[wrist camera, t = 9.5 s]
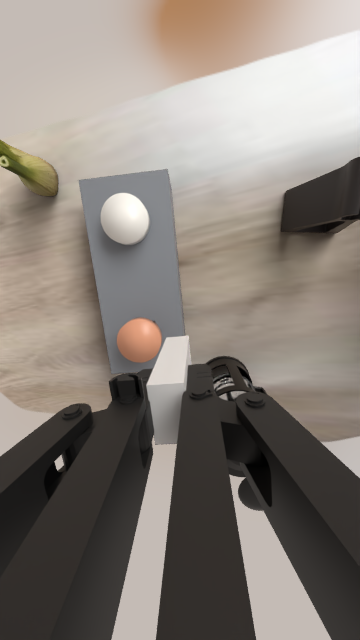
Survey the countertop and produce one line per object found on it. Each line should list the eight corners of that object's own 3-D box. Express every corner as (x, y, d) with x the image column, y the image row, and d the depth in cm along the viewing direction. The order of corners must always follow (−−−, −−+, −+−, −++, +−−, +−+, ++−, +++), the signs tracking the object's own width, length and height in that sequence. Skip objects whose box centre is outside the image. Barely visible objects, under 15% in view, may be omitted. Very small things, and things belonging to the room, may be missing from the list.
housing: (171, 188, 37) (167, 169, 30) (186, 352, 42) (186, 368, 35) (98, 196, 37) (78, 180, 30) (123, 357, 43) (111, 373, 36)
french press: (192, 397, 44) (196, 527, 22) (199, 352, 42) (212, 443, 20) (252, 406, 44) (318, 545, 22) (262, 360, 42) (347, 463, 20)
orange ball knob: (164, 308, 38) (157, 318, 30) (168, 342, 40) (162, 360, 31) (129, 311, 39) (113, 322, 30) (134, 344, 40) (120, 364, 32)
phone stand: (279, 231, 37) (321, 213, 26) (285, 191, 36) (331, 153, 24) (335, 233, 37) (403, 216, 25) (342, 193, 36) (417, 155, 24)
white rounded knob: (154, 208, 36) (144, 190, 28) (158, 247, 38) (150, 240, 29) (117, 212, 37) (96, 195, 28) (122, 251, 38) (104, 245, 30)
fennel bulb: (67, 197, 37) (12, 164, 26) (39, 205, 38) (-27, 175, 26) (56, 159, 36) (-7, 105, 25) (27, 167, 37) (-48, 118, 25)
